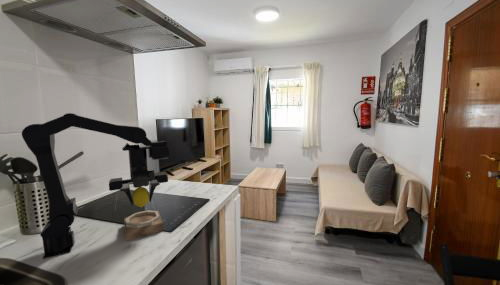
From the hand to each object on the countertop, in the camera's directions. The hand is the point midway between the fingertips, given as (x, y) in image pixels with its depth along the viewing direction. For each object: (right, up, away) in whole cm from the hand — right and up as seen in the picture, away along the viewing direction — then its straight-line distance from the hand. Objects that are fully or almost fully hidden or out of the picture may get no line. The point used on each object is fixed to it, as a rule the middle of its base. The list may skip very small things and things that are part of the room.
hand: (141, 203), depth 80 cm
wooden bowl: (0, -10, +1) cm, 10 cm away
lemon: (0, -2, 0) cm, 2 cm away
